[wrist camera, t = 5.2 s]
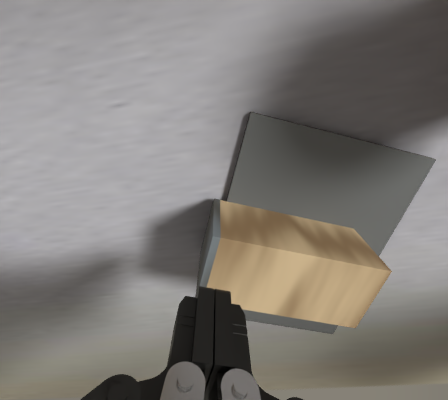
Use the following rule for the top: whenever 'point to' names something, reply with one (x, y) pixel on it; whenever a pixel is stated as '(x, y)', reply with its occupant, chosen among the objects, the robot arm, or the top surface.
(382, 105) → the top surface
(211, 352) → the robot arm
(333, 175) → the mat
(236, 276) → the oak block
